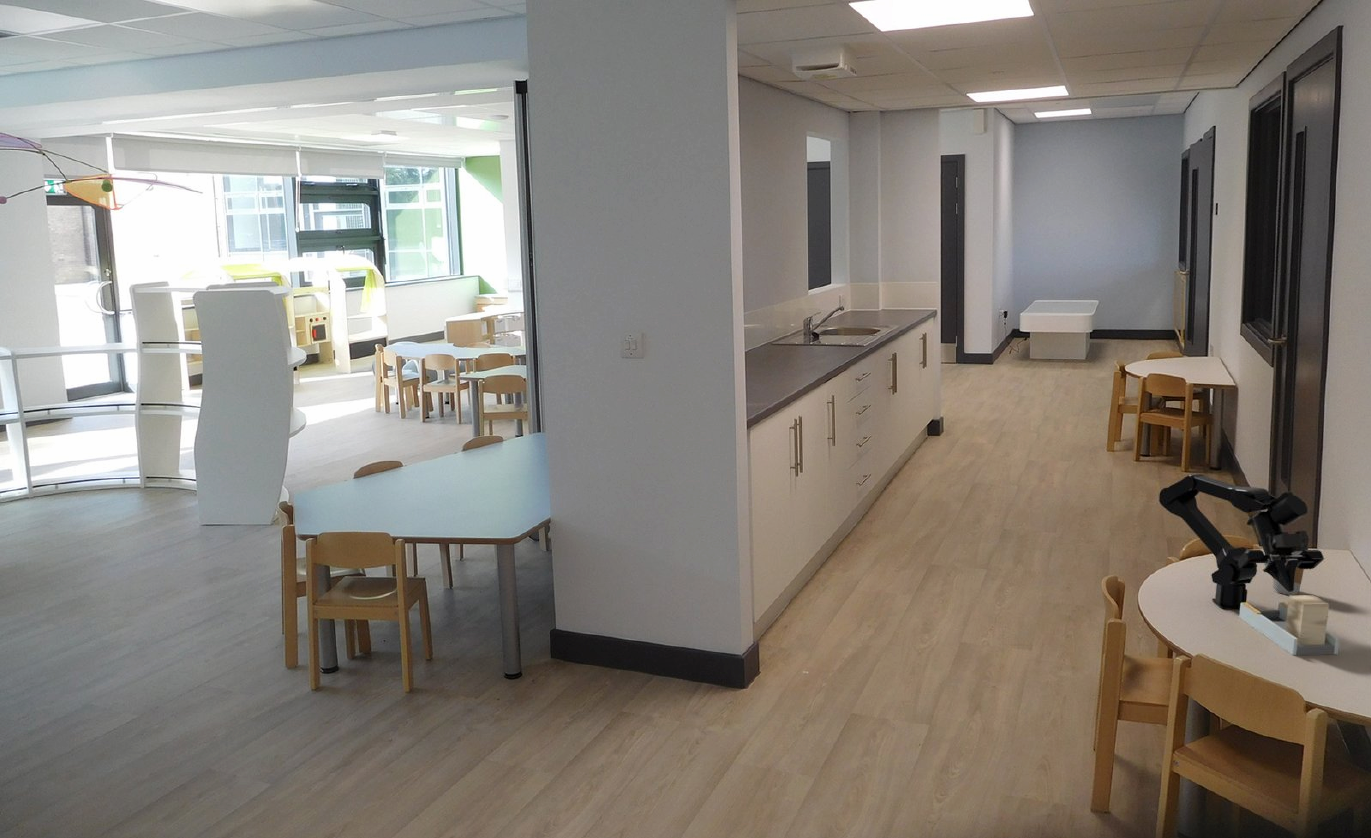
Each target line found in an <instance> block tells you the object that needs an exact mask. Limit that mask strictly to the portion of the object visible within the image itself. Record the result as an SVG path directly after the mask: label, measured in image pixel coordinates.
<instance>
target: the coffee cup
mask: <svg viewBox="0 0 1371 838" xmlns="http://www.w3.org/2000/svg"><path fill="white" fill-rule="evenodd" d="M1304 550H1309V543H1308V544H1303V547H1296V551H1295V552H1292V555H1299V554H1300V553H1301V552H1302V551H1304ZM1304 571H1305V569H1300V568H1298V567H1297V568H1296V570H1295V577H1294V590H1293V591H1292V592H1288V591H1287V590H1286V589H1285V588H1284V587H1283V586H1282V585H1281V584H1280V583H1279V582H1278V581H1277V580H1276V579H1274V578H1273V577H1272V589H1273V590H1274V589H1275V590H1276V591H1277V592H1276V591H1275V592H1276V593H1278V592H1279V593H1278V594H1281V593H1283V594H1282V595H1286V594H1288V595H1287V596H1289V595H1298V594H1299V592H1300V590H1301V584H1302V581H1303V575H1304Z"/></svg>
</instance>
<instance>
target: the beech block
mask: <svg viewBox="0 0 1371 838" xmlns="http://www.w3.org/2000/svg"><path fill="white" fill-rule="evenodd" d="M1287 601H1288V602H1287V604H1288V610H1287V620H1286V629H1285V631H1287V632H1288V633H1290V634H1291V635H1293V636H1294V637H1296V638H1297V639H1298V642H1297V644H1299V645H1324V643H1325V635H1326V631H1327V624H1328V615H1329V607H1330V603H1328V602H1326V601H1324V600H1323V599H1321V598H1320V597H1317V596H1316V595H1313V594H1311V595H1310V594H1307V595H1305V594H1303V595H1300V594H1299V595H1298V594H1296V595H1288V600H1287Z"/></svg>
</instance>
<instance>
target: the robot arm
mask: <svg viewBox="0 0 1371 838" xmlns="http://www.w3.org/2000/svg"><path fill="white" fill-rule="evenodd" d="M1200 493H1202V494H1206V495H1209V496H1211V497H1215V498H1217V499H1220V500H1223V501H1227V502H1228V503H1230V504H1231V505H1232V507H1234V508H1236V509H1238V510H1239V511H1241V512H1243V513H1246V514H1247V513H1255V512H1258V513H1257V514H1255V515H1254V514H1250V518H1249V519H1248V520H1247V522H1246V525H1247V526H1251V527H1255V529H1256V533H1257V536H1258V537H1259V541H1258V542H1257V544H1258V547H1259V548H1260V547H1261V548H1262V549H1247V548H1245V547H1244V546H1241V547H1234V546H1233V545H1232V544H1230V542H1229V541H1228V540H1227V539H1226V538H1225V537H1224V535H1222V533H1221V532H1220V531H1219V530H1218V528H1216V527H1215V526H1214V525H1213V523H1211V521H1210V520H1209V519H1208V517H1206V516H1205V515H1204V513H1203V512H1202V511H1201V510H1200V508H1198V503H1197V498H1196V497H1197V496H1199V494H1200ZM1158 498H1159V499H1158V501H1159V504H1160V505H1161V506H1162V507H1163V508H1164V509H1165V510H1166V511H1168V512H1169V513H1170V514H1172V515H1173V516H1177V517H1179V518H1180V519H1182V520H1183V521H1184V522H1185V523H1186V524H1187V525H1186V526H1188V527H1189V529H1191V531H1193V533H1194V534H1195V535H1196V536H1197V537H1198V538H1199V540H1200V541H1201V542H1202V543H1203V544H1204V545H1205V547H1206V548H1207V549H1208V550H1209V551H1210V553H1212V555H1213V556H1214V557H1215V561H1216V566H1217V570H1215V571H1214V572H1212V573H1211V574H1210V575H1211V581H1212V583H1214V584H1215V585H1216V587H1215V597H1214V598H1212V599H1211V601H1212V602H1213V603H1214V604H1216V605H1217V606H1218V607H1219V608H1221V609H1223V610H1224V609H1225V610H1240V605H1241V603H1247V599H1248V589H1247V584H1251V582H1253V581H1252V580H1253V578H1255V577H1256V575H1257V574H1258V573H1257V572H1258V564H1264V567H1265V568H1263V569H1262V572H1264V573H1267V574H1268V575H1270V576H1271V577H1272V579H1273V578H1274V579H1276V580H1277V581H1278V582H1279V583H1280V584H1281V585H1282V586H1283V587H1284V588H1285V589H1286V590H1287V591H1288V592H1292V591H1293V590H1294V577H1295V570H1296V568H1297V567H1298V568H1300V569H1304V570H1313V569H1315V568H1316V567H1317V566H1318V565H1319V564H1321V563H1322V562H1323V561H1324V560H1325V557H1324V554H1323V553H1322V551H1321V550H1319V549H1308V550H1304V551H1302V552H1301V553H1300V554H1299V555H1292V552H1295V551H1296V547H1303V544H1308V545H1309V542H1310V540H1309V535H1308V533H1307V531H1306V530H1297V531H1295V532H1294V533H1288V531H1284V529H1283V526H1285V527H1286V526H1289V525H1291V524H1292V523H1294V522H1296V521H1297V520H1299V519H1301V518H1302V517H1304V516H1305V515H1306V514H1307V513H1308V506H1307V504H1306V502H1305V501H1303V500H1302V499H1301V498H1299V497H1298V496H1297V495H1294V494H1293V492H1292V491H1285V492H1283V493H1282V494H1280V496H1279V497H1276V496H1274V495H1272V494H1270V492H1269V491H1268V490H1267V489H1265V488H1262V487H1254V486H1238V485H1235V484H1231V483H1228V482H1225V481H1222V480H1218V479H1216V478H1213V477H1210V476H1207V475H1204V474H1203V473H1194V474H1188V475H1186V476H1185V477H1184V478H1182V479H1181V480H1179V481H1177V482H1175V483H1174V484H1171V485H1169V486H1168V487H1164V488H1162V489H1161V490H1160V492H1159V494H1158Z"/></svg>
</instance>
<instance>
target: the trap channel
mask: <svg viewBox="0 0 1371 838" xmlns="http://www.w3.org/2000/svg"><path fill="white" fill-rule="evenodd" d="M1287 610H1288V603H1286V602H1284V601H1281V602H1278V606H1277V609H1257V608H1255V607H1253V606H1252V605H1250V603H1247V602H1246V603H1241V605H1240V609H1239V616H1238V618H1239V619H1241V620H1242V621H1243V622H1244V623H1246V624H1248V625H1249V626H1250V627H1252V628H1253V629H1255V630H1256V631H1257V632H1259V633H1260V634H1262V636H1265V638H1267V639H1269V640H1270V641H1272V642H1273V643H1275V644H1276V645H1278V646H1279V647H1280V648H1282V649H1284V650H1285V651H1286V652H1288V653H1289V654H1291V655H1292V656H1325V655H1324V654H1337V655H1338V654H1339V653H1338V651H1339V645H1340V643H1339V642H1340V638H1339V637H1338V636H1336V635H1335V634H1333V633H1331V632H1330V631H1328V630H1326V635H1325V643H1324V645H1299V644H1297V642H1298V639H1297V638H1296V637H1294V636H1293V635H1291V634H1290V633H1288V632H1287V631H1285V629H1286V620H1287Z"/></svg>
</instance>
